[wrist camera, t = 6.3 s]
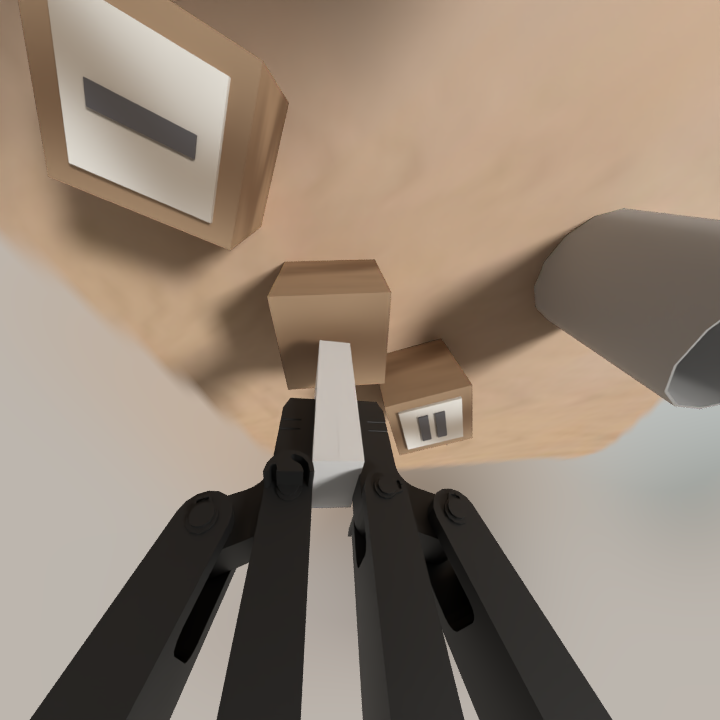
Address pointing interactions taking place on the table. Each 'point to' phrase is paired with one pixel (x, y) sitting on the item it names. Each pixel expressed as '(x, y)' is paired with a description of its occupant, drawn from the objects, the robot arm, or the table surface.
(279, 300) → the plain block
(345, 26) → the table surface
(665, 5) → the table surface
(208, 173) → the numbered block
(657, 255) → the cup
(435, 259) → the table surface
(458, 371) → the numbered block
